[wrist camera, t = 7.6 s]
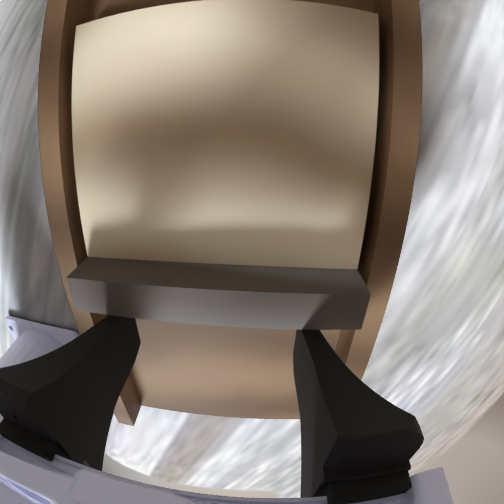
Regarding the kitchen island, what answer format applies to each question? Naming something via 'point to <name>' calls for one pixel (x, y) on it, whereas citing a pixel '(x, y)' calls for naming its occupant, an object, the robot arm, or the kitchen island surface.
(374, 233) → the walnut track
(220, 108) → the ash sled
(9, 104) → the kitchen island surface
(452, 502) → the robot arm
